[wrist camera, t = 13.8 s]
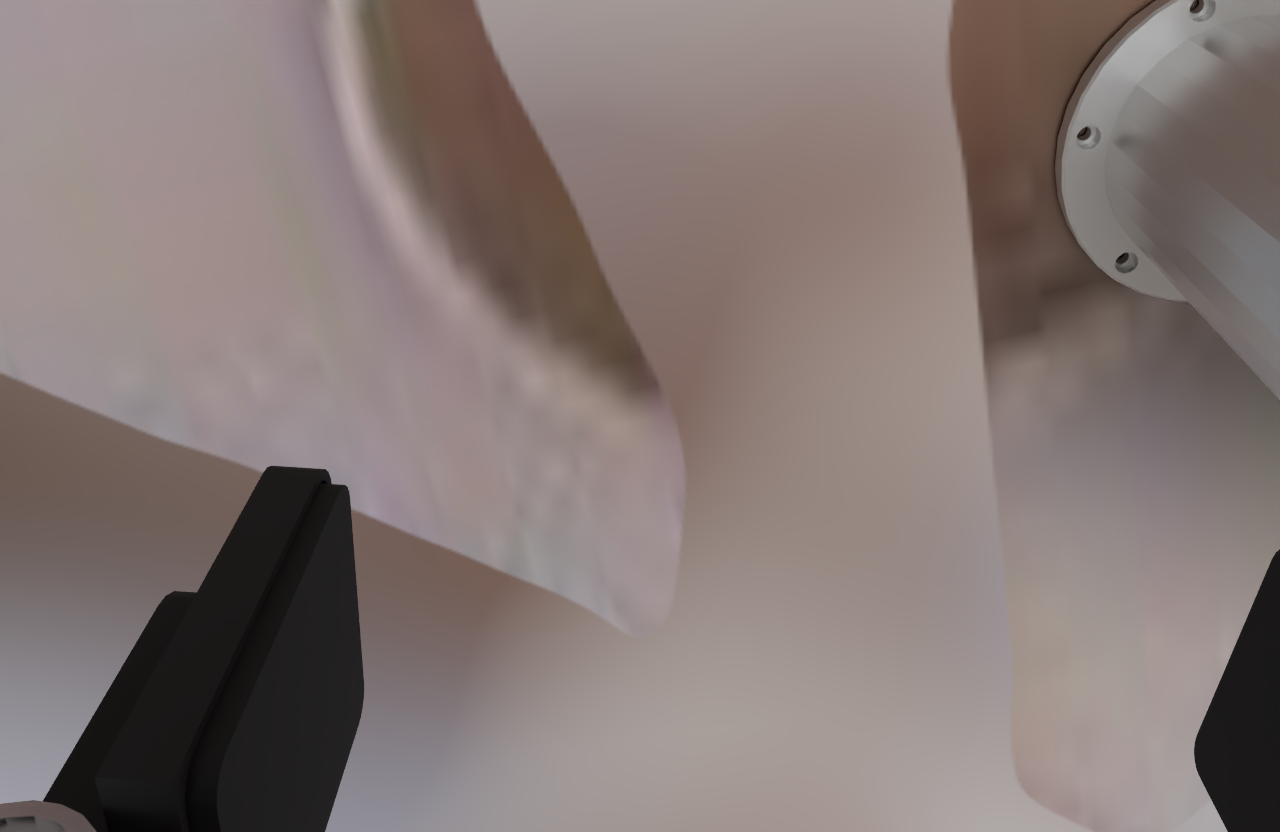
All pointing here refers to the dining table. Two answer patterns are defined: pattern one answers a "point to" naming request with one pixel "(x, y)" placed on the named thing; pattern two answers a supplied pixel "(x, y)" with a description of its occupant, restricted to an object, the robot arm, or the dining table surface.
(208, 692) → the robot arm
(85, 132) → the dining table surface
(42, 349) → the dining table surface
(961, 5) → the dining table surface
